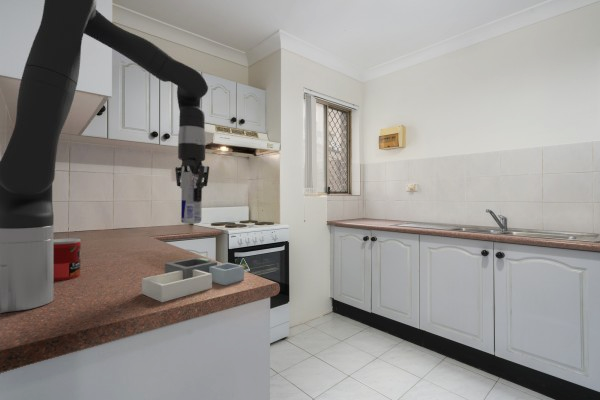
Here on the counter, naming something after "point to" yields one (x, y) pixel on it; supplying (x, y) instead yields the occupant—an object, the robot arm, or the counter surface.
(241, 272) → the blue-grey square bin
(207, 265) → the dark grey square bin
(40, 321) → the counter surface
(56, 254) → the canned food
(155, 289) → the trough
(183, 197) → the upright juice carton
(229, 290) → the counter surface
